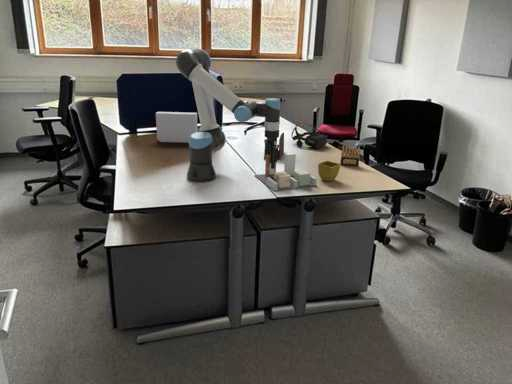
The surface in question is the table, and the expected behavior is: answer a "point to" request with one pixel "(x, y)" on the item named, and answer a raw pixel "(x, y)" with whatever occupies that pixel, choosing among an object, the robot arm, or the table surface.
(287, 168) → the sage block
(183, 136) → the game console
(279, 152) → the letter holder
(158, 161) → the table surface
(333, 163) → the flower pot
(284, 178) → the birch block
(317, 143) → the virtual reality headset
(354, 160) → the ammunition clip
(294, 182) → the lane rack
